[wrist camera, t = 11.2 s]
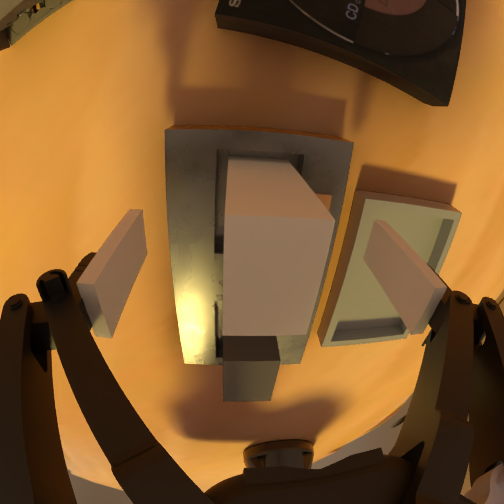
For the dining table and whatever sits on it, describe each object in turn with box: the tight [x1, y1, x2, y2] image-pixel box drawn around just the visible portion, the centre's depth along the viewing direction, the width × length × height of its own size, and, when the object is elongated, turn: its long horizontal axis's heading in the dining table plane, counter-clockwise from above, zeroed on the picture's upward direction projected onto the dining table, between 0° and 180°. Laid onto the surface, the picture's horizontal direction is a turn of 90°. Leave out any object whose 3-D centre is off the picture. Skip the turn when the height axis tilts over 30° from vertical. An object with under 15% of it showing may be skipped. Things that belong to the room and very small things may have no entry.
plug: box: [223, 156, 335, 336], centre depth 16 cm, size 6×4×10 cm, turn 176°
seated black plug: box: [223, 335, 281, 401], centre depth 23 cm, size 6×4×7 cm, turn 176°
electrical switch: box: [0, 0, 72, 51], centre depth 7 cm, size 9×5×9 cm, turn 104°
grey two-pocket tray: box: [165, 125, 354, 365], centre depth 23 cm, size 22×12×3 cm, turn 176°
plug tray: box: [317, 190, 462, 347], centre depth 25 cm, size 16×11×2 cm
